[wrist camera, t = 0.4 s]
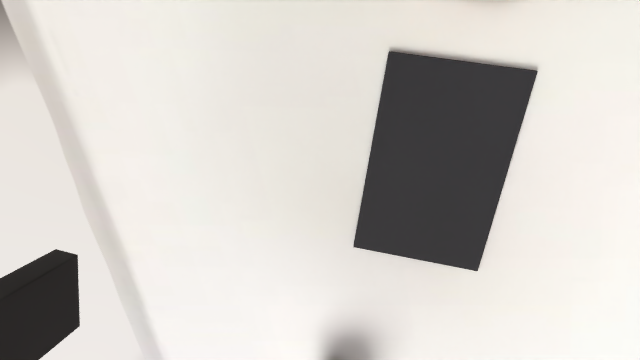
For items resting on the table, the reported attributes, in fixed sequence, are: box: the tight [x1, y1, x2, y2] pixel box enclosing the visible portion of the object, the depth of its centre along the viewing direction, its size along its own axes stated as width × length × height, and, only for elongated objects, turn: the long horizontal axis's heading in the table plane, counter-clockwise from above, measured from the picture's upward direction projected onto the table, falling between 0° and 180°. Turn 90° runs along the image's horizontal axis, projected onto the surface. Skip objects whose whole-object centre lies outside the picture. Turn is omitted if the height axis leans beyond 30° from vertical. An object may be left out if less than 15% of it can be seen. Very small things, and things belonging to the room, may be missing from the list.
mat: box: [354, 51, 537, 271], centre depth 34 cm, size 20×13×1 cm, turn 172°
